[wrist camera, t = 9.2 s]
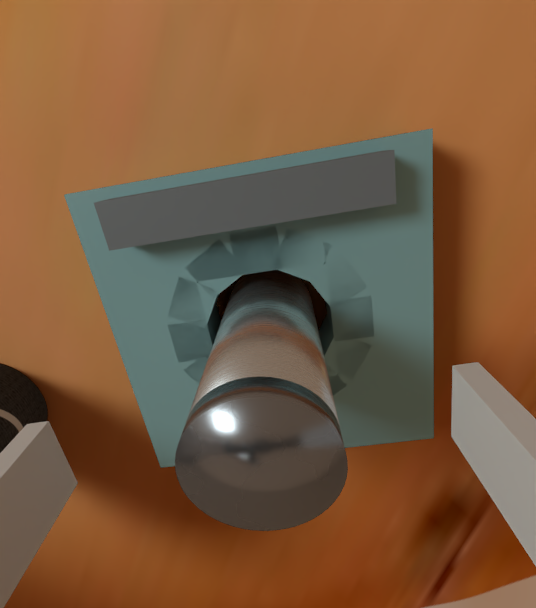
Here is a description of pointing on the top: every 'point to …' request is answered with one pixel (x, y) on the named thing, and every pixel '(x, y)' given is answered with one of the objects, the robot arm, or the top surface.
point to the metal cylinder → (264, 413)
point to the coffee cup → (18, 404)
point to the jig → (276, 256)
